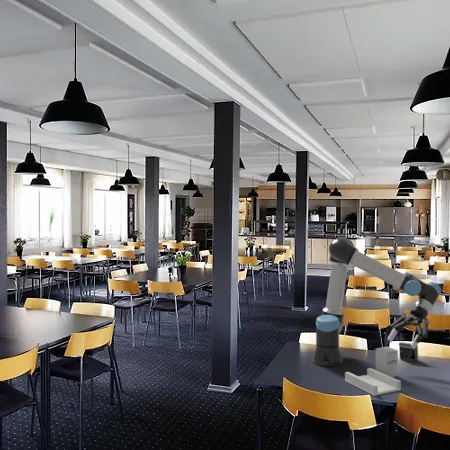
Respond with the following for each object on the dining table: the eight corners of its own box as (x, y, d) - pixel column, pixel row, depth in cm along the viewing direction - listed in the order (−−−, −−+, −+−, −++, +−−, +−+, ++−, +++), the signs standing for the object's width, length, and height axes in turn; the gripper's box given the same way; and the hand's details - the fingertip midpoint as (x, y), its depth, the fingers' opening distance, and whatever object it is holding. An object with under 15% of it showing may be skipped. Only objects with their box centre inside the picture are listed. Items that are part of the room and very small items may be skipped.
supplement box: (386, 379, 214) (386, 352, 213) (375, 374, 220) (375, 348, 220) (398, 376, 217) (398, 350, 217) (386, 371, 224) (386, 346, 223)
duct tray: (345, 381, 211) (345, 372, 211) (370, 376, 217) (370, 367, 217) (374, 395, 194) (374, 386, 194) (400, 390, 200) (400, 381, 200)
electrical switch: (418, 360, 241) (418, 343, 240) (416, 364, 237) (416, 346, 236) (400, 357, 246) (399, 340, 245) (397, 361, 242) (397, 344, 241)
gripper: (447, 319, 220) (426, 355, 213) (403, 309, 242) (384, 342, 234) (440, 309, 217) (419, 345, 210) (397, 300, 239) (376, 333, 232)
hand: (400, 343), depth 222 cm, fingers open, 13 cm apart
